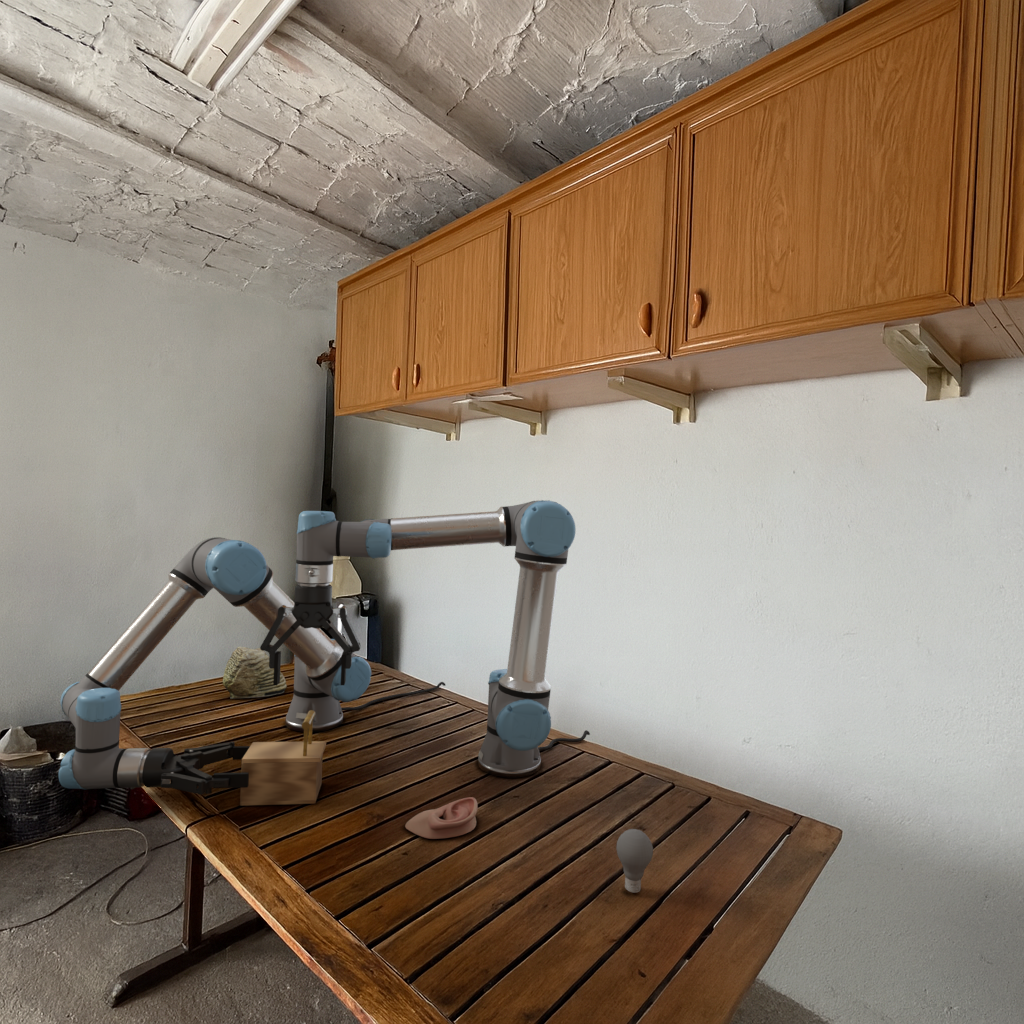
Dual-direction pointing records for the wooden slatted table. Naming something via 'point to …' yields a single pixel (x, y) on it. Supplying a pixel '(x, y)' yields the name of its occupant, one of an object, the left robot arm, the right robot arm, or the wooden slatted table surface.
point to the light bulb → (634, 857)
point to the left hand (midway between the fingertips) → (256, 765)
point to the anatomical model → (445, 820)
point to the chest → (281, 783)
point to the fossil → (251, 675)
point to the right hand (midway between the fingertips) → (310, 683)
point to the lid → (288, 748)
